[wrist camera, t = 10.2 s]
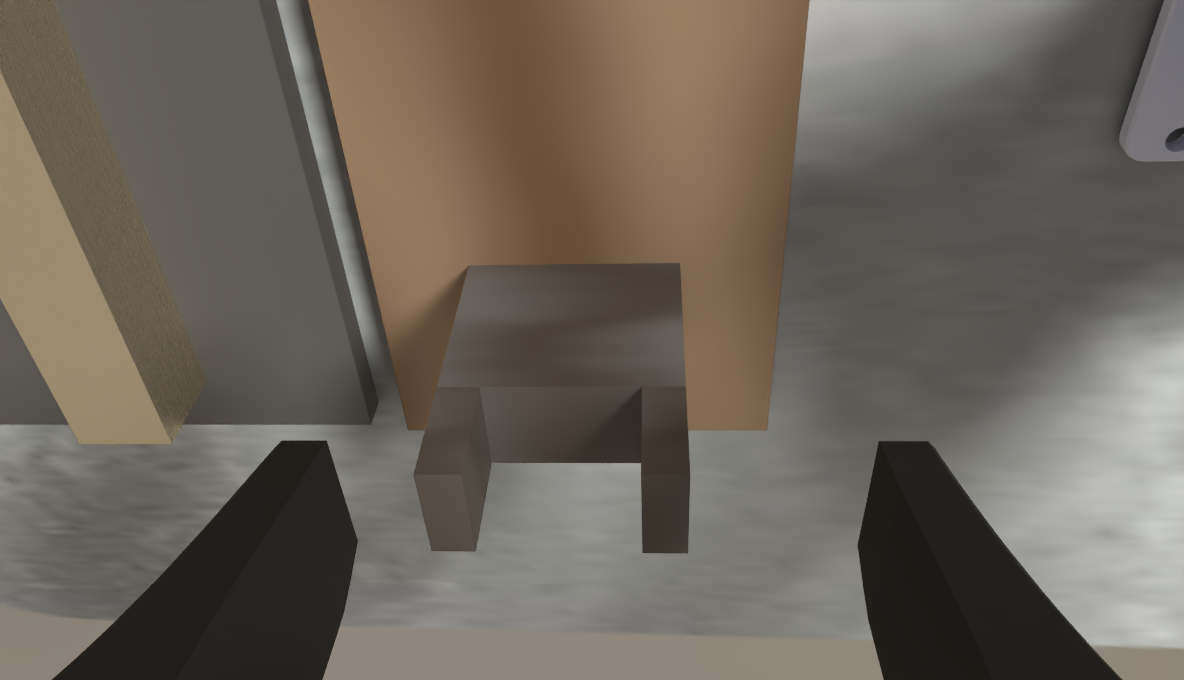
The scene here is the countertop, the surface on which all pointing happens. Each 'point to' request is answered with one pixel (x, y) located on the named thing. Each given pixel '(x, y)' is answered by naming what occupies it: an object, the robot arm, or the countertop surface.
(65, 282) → the rail
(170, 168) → the mat
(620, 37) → the rack
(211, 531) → the robot arm
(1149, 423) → the countertop surface
